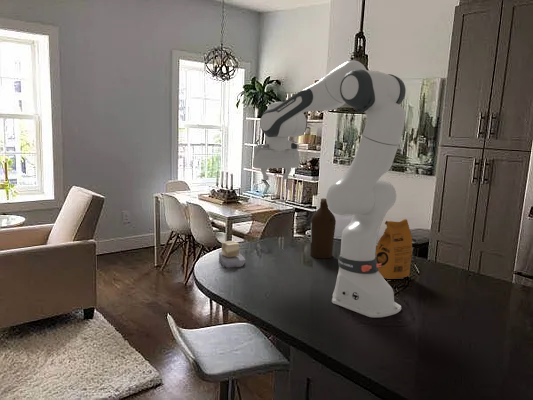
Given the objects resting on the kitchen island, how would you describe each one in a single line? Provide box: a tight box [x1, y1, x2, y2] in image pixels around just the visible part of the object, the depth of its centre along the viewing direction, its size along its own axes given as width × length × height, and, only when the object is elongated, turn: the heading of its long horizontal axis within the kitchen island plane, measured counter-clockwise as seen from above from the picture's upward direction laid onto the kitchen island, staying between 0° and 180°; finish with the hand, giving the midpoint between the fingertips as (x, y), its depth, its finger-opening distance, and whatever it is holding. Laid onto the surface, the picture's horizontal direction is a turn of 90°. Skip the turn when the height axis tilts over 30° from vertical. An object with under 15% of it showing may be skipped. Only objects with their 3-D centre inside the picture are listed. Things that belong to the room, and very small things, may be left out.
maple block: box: [221, 240, 240, 257], centre depth 174 cm, size 5×5×5 cm
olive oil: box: [309, 198, 337, 260], centre depth 188 cm, size 11×11×25 cm
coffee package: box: [375, 218, 413, 279], centre depth 164 cm, size 10×12×22 cm
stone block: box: [218, 251, 246, 269], centre depth 176 cm, size 12×5×10 cm
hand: (275, 179), depth 174 cm, fingers open, 8 cm apart
